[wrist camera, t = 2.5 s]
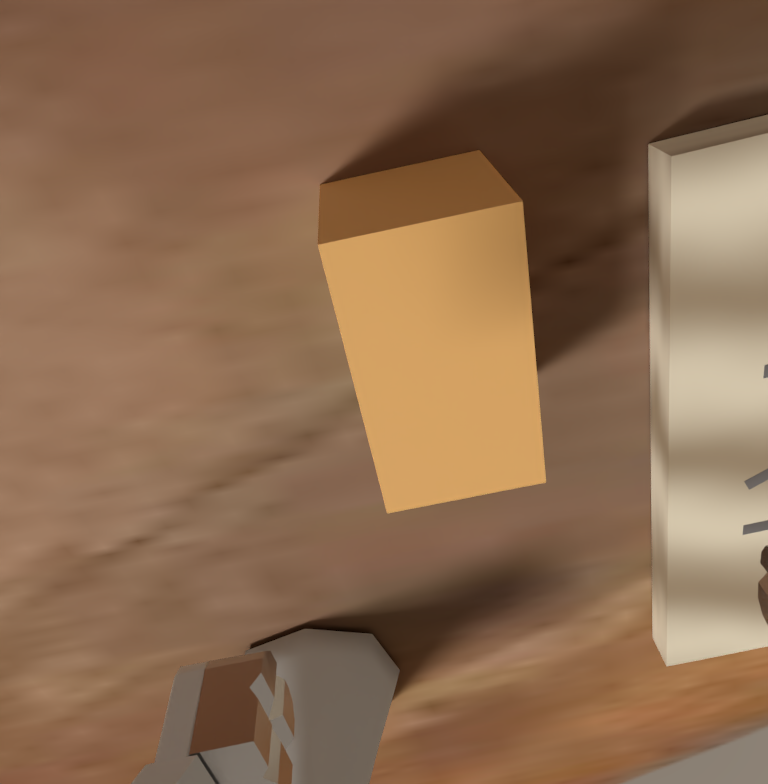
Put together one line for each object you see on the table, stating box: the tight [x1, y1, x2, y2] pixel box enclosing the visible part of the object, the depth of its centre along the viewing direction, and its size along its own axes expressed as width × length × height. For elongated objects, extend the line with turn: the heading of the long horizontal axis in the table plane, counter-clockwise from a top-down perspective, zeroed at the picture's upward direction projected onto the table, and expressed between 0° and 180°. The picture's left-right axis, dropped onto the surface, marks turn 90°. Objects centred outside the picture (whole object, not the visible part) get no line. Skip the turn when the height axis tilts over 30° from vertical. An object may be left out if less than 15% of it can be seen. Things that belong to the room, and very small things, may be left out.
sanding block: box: [318, 150, 546, 513], centre depth 19 cm, size 8×4×5 cm, turn 11°
